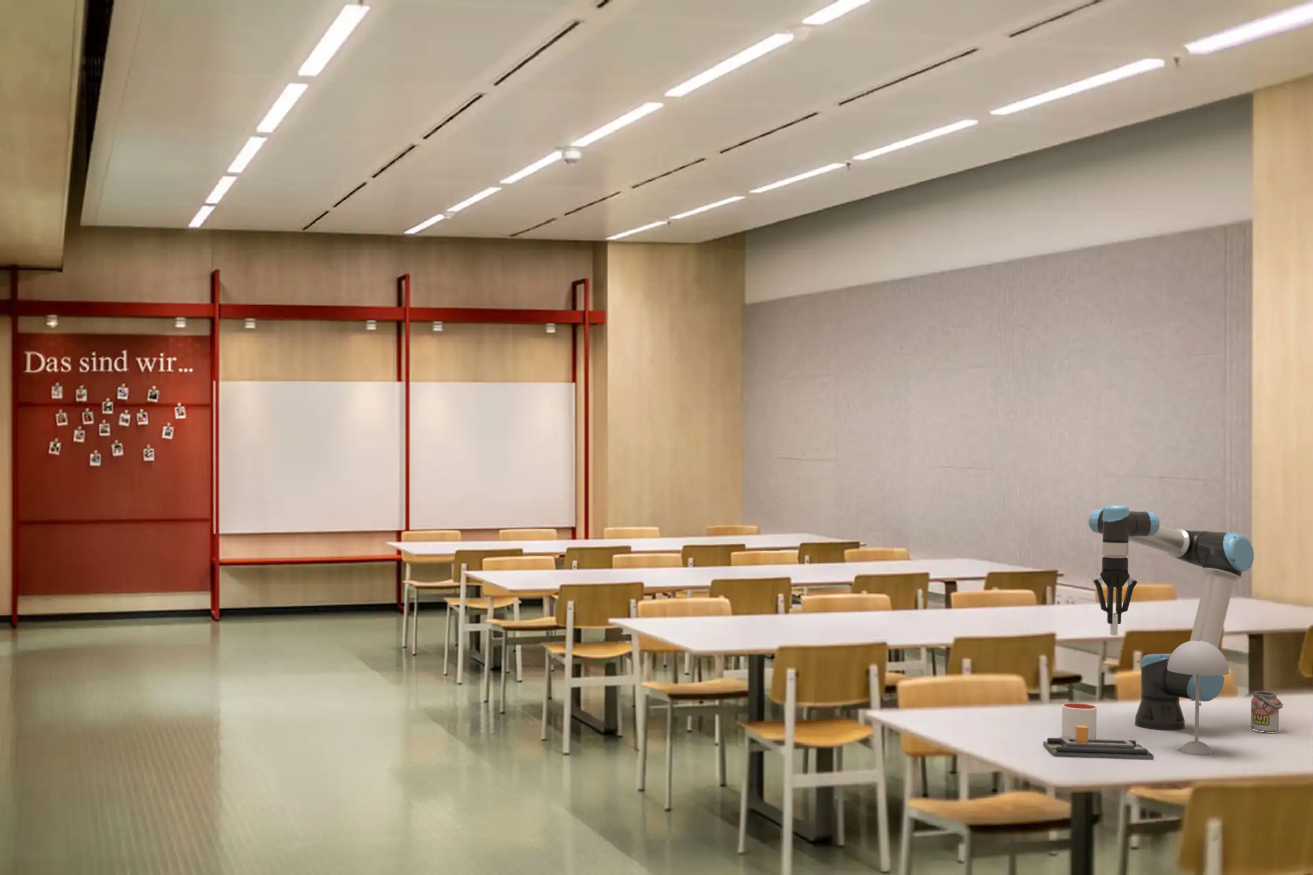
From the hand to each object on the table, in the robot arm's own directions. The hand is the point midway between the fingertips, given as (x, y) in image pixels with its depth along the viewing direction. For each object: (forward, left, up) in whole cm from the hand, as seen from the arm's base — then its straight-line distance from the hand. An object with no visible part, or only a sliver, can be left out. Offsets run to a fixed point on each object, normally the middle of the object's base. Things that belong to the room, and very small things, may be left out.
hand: (1113, 634), depth 450 cm
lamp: (-22, +10, -33) cm, 41 cm away
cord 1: (+8, +9, -31) cm, 34 cm away
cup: (+9, -4, -33) cm, 34 cm away
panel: (+8, +16, -32) cm, 37 cm away
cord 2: (+8, +22, -31) cm, 39 cm away
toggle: (+12, +16, -31) cm, 37 cm away
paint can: (-54, -26, -33) cm, 68 cm away
